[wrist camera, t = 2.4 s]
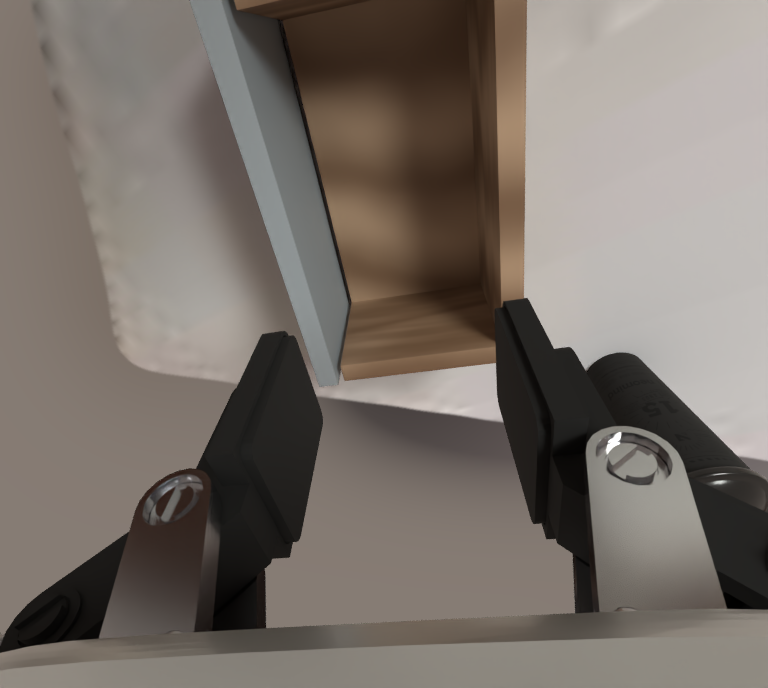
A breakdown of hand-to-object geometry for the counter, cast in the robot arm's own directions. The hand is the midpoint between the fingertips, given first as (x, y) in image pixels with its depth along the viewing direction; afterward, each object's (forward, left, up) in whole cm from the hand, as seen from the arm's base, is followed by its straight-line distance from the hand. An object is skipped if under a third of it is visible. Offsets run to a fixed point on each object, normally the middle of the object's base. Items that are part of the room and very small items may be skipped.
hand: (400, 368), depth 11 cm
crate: (0, 0, -21) cm, 21 cm away
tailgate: (0, -7, -21) cm, 22 cm away
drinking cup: (+20, +16, -22) cm, 34 cm away
